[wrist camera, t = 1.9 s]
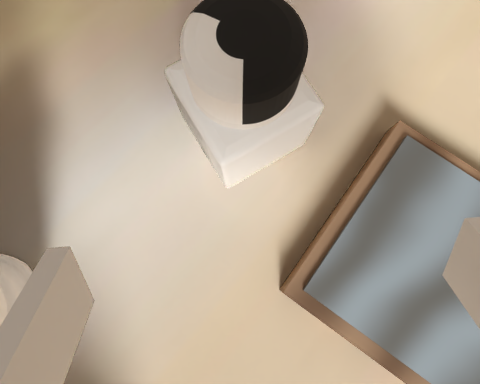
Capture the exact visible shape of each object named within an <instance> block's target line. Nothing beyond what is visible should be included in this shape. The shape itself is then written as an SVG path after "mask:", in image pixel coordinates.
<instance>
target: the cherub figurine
mask: <svg viewBox="0 0 480 384" xmlns="http://www.w3.org/2000/svg"><path fill="white" fill-rule="evenodd" d="M32 272H33V271H32V270H31V269H30V268H29V266H28V265H27V263H24V262H22V261H21V260H18V259H17V258H14V257H12V256H9V255H4V254H0V326H1V324H2V323H3V321H4V319H5V317H6V316H7V314H8V312H9V311H10V309H11V307H12V306H13V304H14V302H15V301H16V299H17V297H18V296H19V294H20V292H21V291H22V289H23V287H24V286H25V284H26V282H27V281H28V279H29V277H30V276H31V274H32Z"/></svg>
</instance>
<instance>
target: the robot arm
mask: <svg viewBox="0 0 480 384" xmlns="http://www.w3.org/2000/svg"><path fill="white" fill-rule="evenodd" d="M442 276H443V277H444V278H445V280H446V281H447V283H448V284H449V286H450V287H451V289H452V290H453V291H454V293H455V294H456V296H457V297H458V299H459V300H460V302H461V303H462V304H463V306H464V307H465V309H466V310H467V312H468V313H469V315H470V316H471V318H472V319H473V320H474V322H475V323H476V325H477V326H478V328H479V329H480V217H472V218H465V219H464V221H463V224H462V227H461V229H460V232H459V234H458V237H457V239H456V242H455V244H454V247H453V249H452V252H451V254H450V257H449V259H448V262H447V265H446V267H445V270H444V272H443V275H442ZM93 303H94V299H93V297H92V294H91V292H90V290H89V288H88V285H87V283H86V281H85V279H84V277H83V274H82V272H81V270H80V268H79V265H78V263H77V261H76V259H75V257H74V254H73V252H72V250H71V248H70V247H56V248H47V249H46V250H45V252H44V254H43V255H42V257H41V259H40V260H39V262H38V264H37V265H36V267H35V269H34V270H33V272H32V274H31V276H30V277H29V279H28V281H27V282H26V284H25V286H24V287H23V289H22V291H21V292H20V294H19V296H18V297H17V299H16V301H15V302H14V304H13V306H12V307H11V309H10V311H9V312H8V314H7V316H6V317H5V319H4V321H3V323H2V324H1V326H0V384H64V382H65V379H66V376H67V374H68V371H69V368H70V365H71V363H72V360H73V357H74V355H75V352H76V349H77V346H78V344H79V341H80V338H81V336H82V333H83V330H84V327H85V325H86V322H87V319H88V316H89V314H90V311H91V308H92V306H93Z"/></svg>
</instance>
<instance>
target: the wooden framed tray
mask: <svg viewBox="0 0 480 384" xmlns="http://www.w3.org/2000/svg"><path fill="white" fill-rule="evenodd" d="M472 217H480V171H478V170H477V169H475V168H474V167H472V166H471V165H469V164H467V163H466V162H464V161H463V160H461V159H460V158H458V157H456V156H455V155H453V154H452V153H450V152H449V151H447V150H446V149H444V148H442V147H441V146H439V145H438V144H436V143H435V142H433V141H432V140H430V139H428V138H427V137H425V136H424V135H422V134H421V133H419V132H418V131H416V130H414V129H413V128H411V127H410V126H408V125H407V124H405V123H404V122H402V121H399V122H397V123H396V124H395V125H394V126H393V127H392V128H391V129H389V130H388V131H387V132H386V134H385V135H384V137H383V138H382V140H381V141H380V142H379V144H378V145H377V147H376V148H375V150H374V151H373V153H372V154H371V156H370V157H369V159H368V160H367V162H366V163H365V165H364V166H363V167H362V169H361V170H360V172H359V173H358V175H357V176H356V178H355V179H354V181H353V182H352V184H351V185H350V187H349V188H348V189H347V191H346V192H345V194H344V195H343V197H342V198H341V200H340V201H339V203H338V204H337V206H336V207H335V209H334V210H333V211H332V213H331V214H330V216H329V217H328V219H327V220H326V222H325V223H324V225H323V226H322V228H321V229H320V231H319V232H318V233H317V235H316V236H315V238H314V239H313V241H312V242H311V244H310V245H309V247H308V248H307V250H306V251H305V253H304V254H303V256H302V257H301V258H300V260H299V261H298V263H297V264H296V266H295V267H294V269H293V270H292V272H291V273H290V275H289V276H288V278H287V279H286V280H285V282H284V283H283V285H282V286H281V288H280V289H279V290H280V291H282V292H283V293H284V294H285V295H287V296H288V297H289V298H291V299H292V300H293V301H295V302H296V303H297V304H299V305H300V306H302V307H303V308H304V309H306V310H307V311H308V312H310V313H311V314H312V315H314V316H315V317H316V318H318V319H319V320H320V321H322V322H323V323H325V324H326V325H327V326H329V327H330V328H331V329H333V330H334V331H335V332H337V333H338V334H339V335H341V336H342V337H344V338H345V339H346V340H348V341H349V342H350V343H352V344H353V345H354V346H356V347H357V348H358V349H360V350H361V351H362V352H364V353H365V354H367V355H368V356H369V357H371V358H372V359H373V360H375V361H376V362H377V363H379V364H380V365H381V366H383V367H384V368H385V369H387V370H388V371H390V372H391V373H392V374H394V375H395V376H396V377H398V378H399V379H400V380H402V381H403V382H404V383H406V384H480V329H479V328H478V326H477V325H476V323H475V322H474V320H473V319H472V318H471V316H470V315H469V313H468V312H467V310H466V309H465V307H464V306H463V304H462V303H461V302H460V300H459V299H458V297H457V296H456V294H455V293H454V291H453V290H452V289H451V287H450V286H449V284H448V283H447V281H446V280H445V278H444V277H443V276H442V275H443V272H444V270H445V267H446V265H447V262H448V259H449V257H450V254H451V252H452V249H453V247H454V244H455V242H456V239H457V237H458V234H459V232H460V229H461V227H462V224H463V221H464V219H465V218H472Z"/></svg>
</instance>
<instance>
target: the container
mask: <svg viewBox="0 0 480 384" xmlns="http://www.w3.org/2000/svg"><path fill="white" fill-rule="evenodd" d="M179 46H180V56H181V59H180V60H178V61H176V62H175V63H173V64H171V65H169V66H167V67H166V68H165V71H164V73H165V76H166V79H167V81H168V83H169V86H170V88H171V90H172V93H173V95H174V97H175V100H176V102H177V104H178V107H179V109H180V112H181V114H182V116H183V118H184V120H185V121H186V123H187V125H188V126H189V128H190V130H191V131H192V133H193V135H194V136H195V138H196V140H197V141H198V143H199V145H200V146H201V148H202V150H203V151H204V153H205V155H206V156H207V158H208V160H209V161H210V163H211V165H212V166H213V168H214V170H215V171H216V173H217V175H218V176H219V178H220V180H221V181H222V183H223V185H224V186H225V187H226V188H231V187H233V186H234V185H236V184H238V183H240V182H241V181H243V180H245V179H246V178H248V177H250V176H252V175H253V174H255V173H257V172H258V171H260V170H262V169H264V168H265V167H267V166H269V165H270V164H272V163H274V162H276V161H277V160H279V159H281V158H282V157H284V156H286V155H287V154H289V153H291V152H293V151H294V150H296V149H298V148H299V147H301V146H303V145H304V144H305V142H306V140H307V138H308V136H309V134H310V133H311V131H312V129H313V127H314V125H315V124H316V122H317V120H318V118H319V116H320V115H321V113H322V111H323V109H324V104H323V102H322V100H321V99H320V97H319V96H318V94H317V93H316V91H315V90H314V88H313V87H312V86H311V84H310V83H309V81H308V80H307V78H306V77H305V75H304V74H303V72H302V71H303V68H304V65H305V62H306V58H307V52H308V39H307V34H306V30H305V27H304V25H303V22H302V21H301V19H300V17H299V15H298V14H297V13H296V11H295V10H294V9H293V8H292V7H291V6H290V5H289V4H288V3H287V2H285V1H284V0H204V1H202V2H201V3H200V4H199V5H198V6H197V7H196V8H195V9H194V10H193V11H192V12H191V13H190V15H189V16H188V18H187V20H186V21H185V24H184V26H183V28H182V32H181V36H180V44H179Z"/></svg>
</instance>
